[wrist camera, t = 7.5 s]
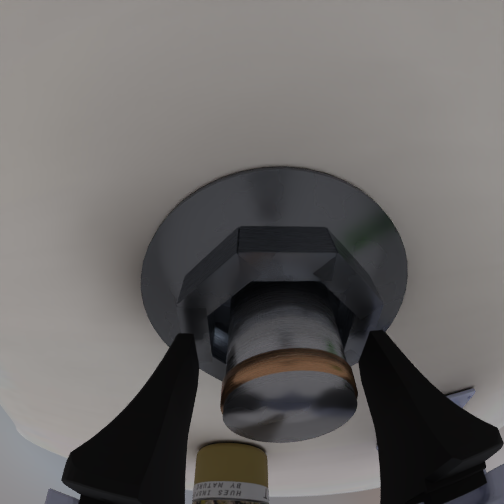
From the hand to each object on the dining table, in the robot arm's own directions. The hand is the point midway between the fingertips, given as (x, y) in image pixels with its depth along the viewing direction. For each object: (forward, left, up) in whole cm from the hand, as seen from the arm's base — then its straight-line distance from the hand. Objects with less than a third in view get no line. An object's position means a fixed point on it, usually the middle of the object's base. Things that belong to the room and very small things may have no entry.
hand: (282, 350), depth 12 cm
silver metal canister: (0, 0, -3) cm, 3 cm away
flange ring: (0, 0, -3) cm, 3 cm away
